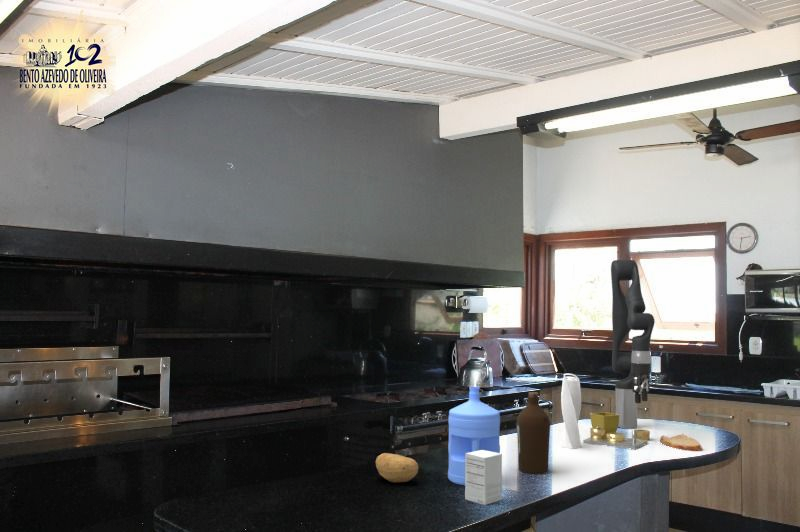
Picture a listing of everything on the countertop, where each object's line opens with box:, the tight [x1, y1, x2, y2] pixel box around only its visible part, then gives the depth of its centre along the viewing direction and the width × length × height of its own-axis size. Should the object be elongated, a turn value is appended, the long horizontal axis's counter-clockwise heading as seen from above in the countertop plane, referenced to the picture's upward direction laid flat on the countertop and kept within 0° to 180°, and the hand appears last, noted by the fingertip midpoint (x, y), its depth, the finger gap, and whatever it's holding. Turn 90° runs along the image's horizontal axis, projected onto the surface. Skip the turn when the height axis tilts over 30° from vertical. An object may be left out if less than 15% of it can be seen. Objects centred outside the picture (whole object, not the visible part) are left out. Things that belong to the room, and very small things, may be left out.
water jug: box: [447, 386, 501, 487], centre depth 213 cm, size 16×16×28 cm
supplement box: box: [464, 450, 503, 506], centre depth 191 cm, size 7×7×13 cm
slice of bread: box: [659, 433, 703, 452], centre depth 273 cm, size 18×18×4 cm
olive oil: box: [516, 391, 551, 475], centre depth 227 cm, size 11×11×25 cm
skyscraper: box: [560, 372, 582, 450], centre depth 267 cm, size 8×8×28 cm
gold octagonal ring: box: [633, 428, 651, 441], centre depth 284 cm, size 6×6×4 cm
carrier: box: [583, 427, 648, 450], centre depth 275 cm, size 16×20×6 cm
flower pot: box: [589, 411, 619, 435], centre depth 292 cm, size 9×9×9 cm
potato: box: [375, 452, 419, 483], centre depth 209 cm, size 10×14×8 cm
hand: (641, 402), depth 285 cm, fingers open, 8 cm apart
